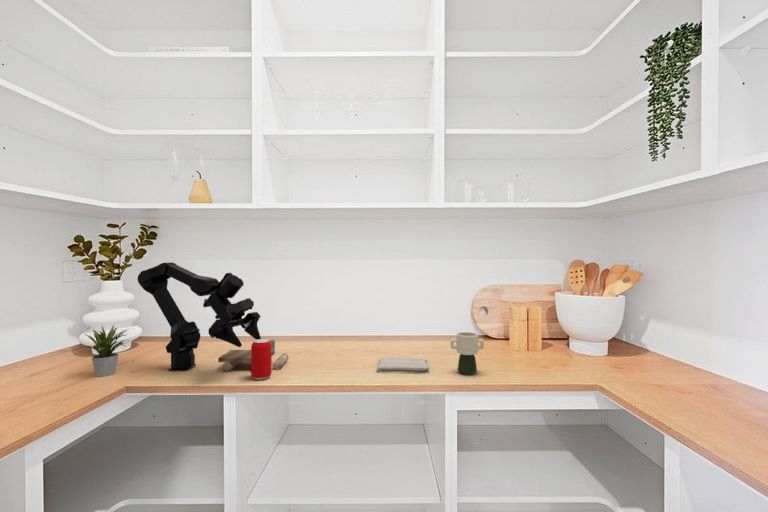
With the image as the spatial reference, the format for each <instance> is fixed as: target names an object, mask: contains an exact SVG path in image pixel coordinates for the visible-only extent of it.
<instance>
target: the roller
mask: <svg viewBox="0 0 768 512" xmlns="http://www.w3.org/2000/svg"><path fill="white" fill-rule="evenodd" d="M289 357H290V356H289V355H288V354H287V353H282V354H281V355H279V356H278V358H277V359H276V360H274V362H273V363H272V367H273V368H274V369H275V370H280V369H281V368H282V367H283V366H284V365H285V364H286V363H287V362H288V360H289Z"/></svg>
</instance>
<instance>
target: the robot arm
mask: <svg viewBox="0 0 768 512" xmlns="http://www.w3.org/2000/svg"><path fill="white" fill-rule="evenodd" d="M222 277H223V278H221V280H220V281H219V280H218V279H217V278H214V277H210V276H204V275H198V274H196V273H194V272H192V271H190V270H188V269H186V268H184V267H182V266H180V265H179V264H177V263H175V262H162V263H159V264H158V265H156V266H153V267H150V268H147V269H146V270H145V269H143V270H141V271H140V272H139V274H138V275H137V283H138V285H139V286H140V287H141V288H142V290H144V291H145V292H147V293H148V294H150V295H152V297H153V298H154V300H155V302H156V304H157V305H158V308H159V309H160V311H161V312H162V314H163V316H164V317H165V319H166V321H167V323H168V325H169V326H170V335H169V336H170V339H171V340H170V341H169V342H168V344H167V345H166V346H165V350H166V353H168V354H170V368H168V370H167V371H171V372H172V371H175V372H176V370H177V372H178V371H179V370H180V371H181V370H182V371H183V372H184V371H185V370H186V371H189V370H190V369H192V368H194V367H196V358H195V357H196V354H195V353H194V351H195V349H197V348H198V346H199V343H200V340H201V332H200V331H201V329H200V328H198V326H197V324H196V322H195V321H188V320H186V318H185V316H184V315H183V313H182V312H181V310H180V308H179V306H178V305H177V303H176V301H175V300H174V298H173V296H172V294H171V293H170V290H168V284H169V281H168V280H169V279H171V278H173V279H174V280H176V281H179V282H180V283H181V284H184V285H186V286H188V287H189V288H190V291H191V292H193V293H194V294H195V295H196V296H199V297H204V296H205V297H206V296H208V298H204V301H203V304H202V306H203V308H209V307H211V309H212V311H213V312H214V313H215V314H216V315H215V316H214V318H215V321H214V322H213V323H212V324H211V326H210V327H209V328H208V335H209V336H210V337H211V338H212V339H214V338H215V339H216V340H217V339H218V340H221V341H224V342H227V343H229V344H231V345H233V346H235V347H238V348H241V347H242V346H243V344H242V342H241V341H240V339H239V337H238V336H237V334H236V333H235V332H234V328H235V327H238V326H241V328H242V329H243V330H244V332H246V334H248V335H249V336H250V337H252V338H253V339H255V340H258V339H262V337H261V334H260V332H259V327H258V321H260V318H261V314H260V313H258V311H253V312H252V311H251V312H249V313H247V314H246V312H247V311H249V310H252V309H253V307H254V306H255V303H254V301H253V300H252V299H251V298H250V297H249V298H245V299H243V300H239V301H237V302H235V303H232V302H231V300H230V299H233V298H234V297H235V296H236V295H237V294H238V292H239V291H240V290H241V289H242V287H244V280H243V279H242V278H240V277H238V276H237V275H235V274H233V273H232V272H226V273H225V274H224V276H222ZM243 317H244V318H243Z"/></svg>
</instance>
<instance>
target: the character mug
mask: <svg viewBox="0 0 768 512" xmlns="http://www.w3.org/2000/svg"><path fill="white" fill-rule="evenodd" d="M455 335H456V336H455V337H456V338H452V339H450V349H452V350H456V352H457V353H458V354H459V357H458V363H457V371H458V372H459V373H461V374H462V373H463V374H466V375H472V374H475V373H477V372H478V371H477V370H478V369H477V362H476V361H477V359H476V356H475V355H478V352H479V350H483V349H484V347H485V345H484V343H485V342H484V339H483V338H479V335H478V333H476V332H472V331H459V332H456V334H455ZM454 343H456V345H455V344H454ZM479 343H480V345H479Z"/></svg>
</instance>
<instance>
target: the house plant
mask: <svg viewBox="0 0 768 512" xmlns="http://www.w3.org/2000/svg"><path fill="white" fill-rule="evenodd" d="M117 329H118V327H116V328H115V324H113V325H112V327H111V328H110V330H109V331H108V333H106V330H105V328H104V326H103V325H101V331H98V330H97V331H96V329H92V332H93V336H94V337H92V336H91V335H88V334H86V333H84V335H85V336H86V337H88V338H89V339H90V340H91V341H92V342H93V343H94V344H95V345H93V346H91V345H83V346H81V347H80V348H90V349H93V350H95V351H96V352H97V354H95V355H92V356H91V360H92V365H93V371H94V375H95V377H97V378H99V377H101V378H102V377H109V376H112V375H114V374H115V373H116V371H117V370H116V368H117V364H118V359H119V353H118V352H114V351H115V350H116V349H118V348H119V347H120V346H123V347H125V348H127V346H126V343H124V342H123V341H126V340H127V341H128V339H123V340H121V341H117V340H118V339H119V338H121V337H125V336H128V335H129V333H128V332H129V331H128V330H129V328H128V329H127V328H126V329H124V330H121V331H119V332H117ZM116 332H117V333H116ZM126 332H127V334H126ZM94 338H95V339H94Z"/></svg>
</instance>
